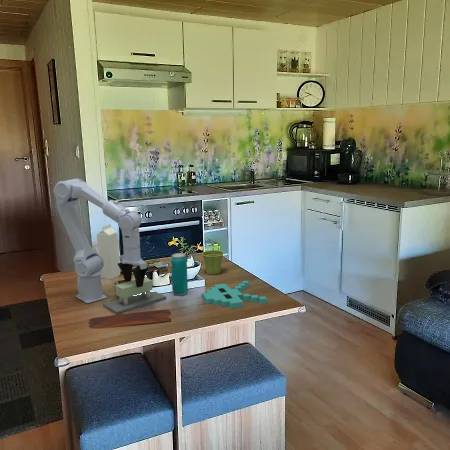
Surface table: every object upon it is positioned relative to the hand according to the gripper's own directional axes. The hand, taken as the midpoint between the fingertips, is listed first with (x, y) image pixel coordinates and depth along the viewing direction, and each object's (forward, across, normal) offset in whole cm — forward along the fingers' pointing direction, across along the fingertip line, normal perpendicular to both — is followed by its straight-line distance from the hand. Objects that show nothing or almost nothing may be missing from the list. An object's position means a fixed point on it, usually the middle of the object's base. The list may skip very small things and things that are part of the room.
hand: (133, 284), depth 160 cm
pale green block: (+3, 0, 0) cm, 3 cm away
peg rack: (+7, 0, 0) cm, 7 cm away
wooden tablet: (+8, +11, -9) cm, 16 cm away
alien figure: (+8, +21, +28) cm, 35 cm away
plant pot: (+7, -5, +42) cm, 43 cm away
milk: (+7, -33, +9) cm, 35 cm away
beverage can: (+7, +4, +17) cm, 19 cm away
